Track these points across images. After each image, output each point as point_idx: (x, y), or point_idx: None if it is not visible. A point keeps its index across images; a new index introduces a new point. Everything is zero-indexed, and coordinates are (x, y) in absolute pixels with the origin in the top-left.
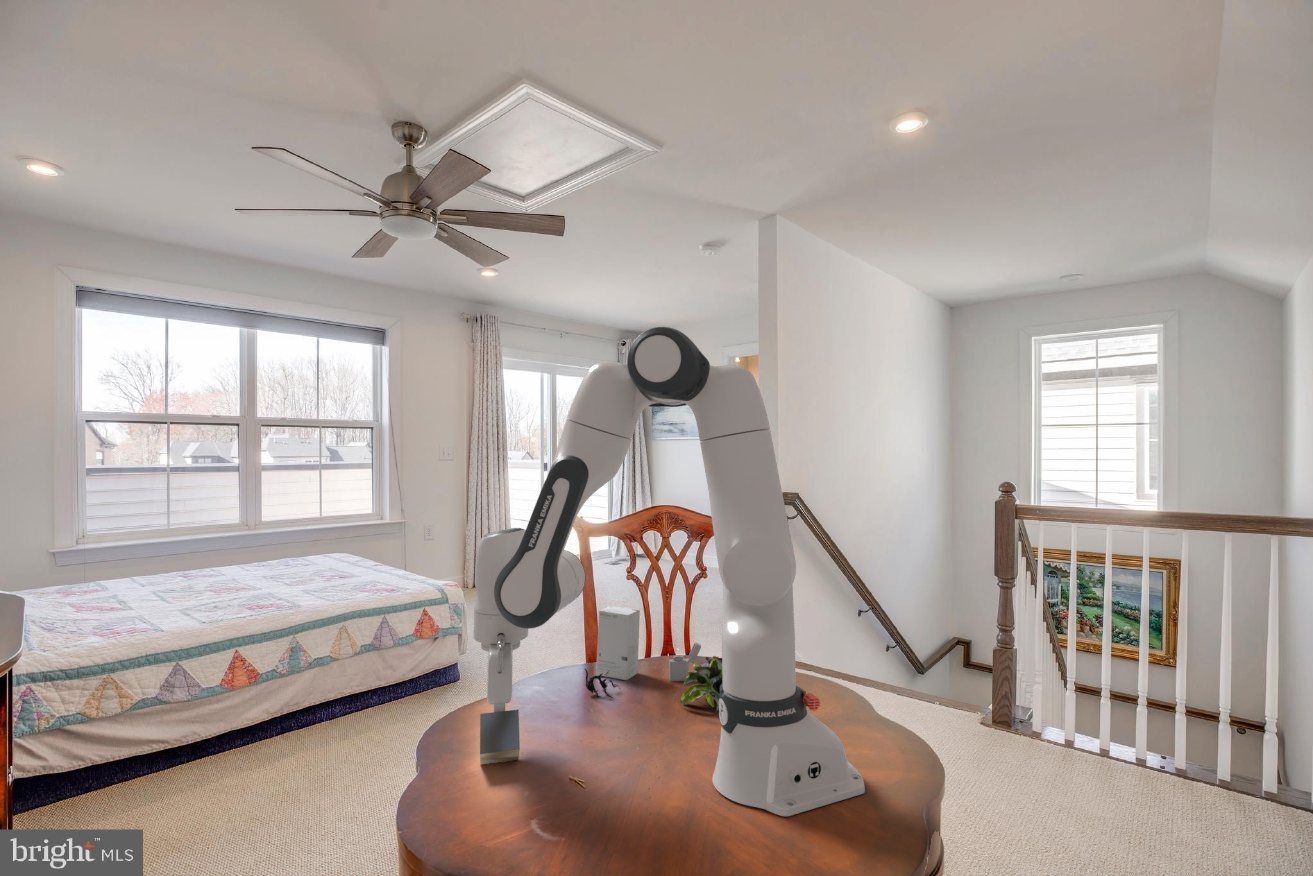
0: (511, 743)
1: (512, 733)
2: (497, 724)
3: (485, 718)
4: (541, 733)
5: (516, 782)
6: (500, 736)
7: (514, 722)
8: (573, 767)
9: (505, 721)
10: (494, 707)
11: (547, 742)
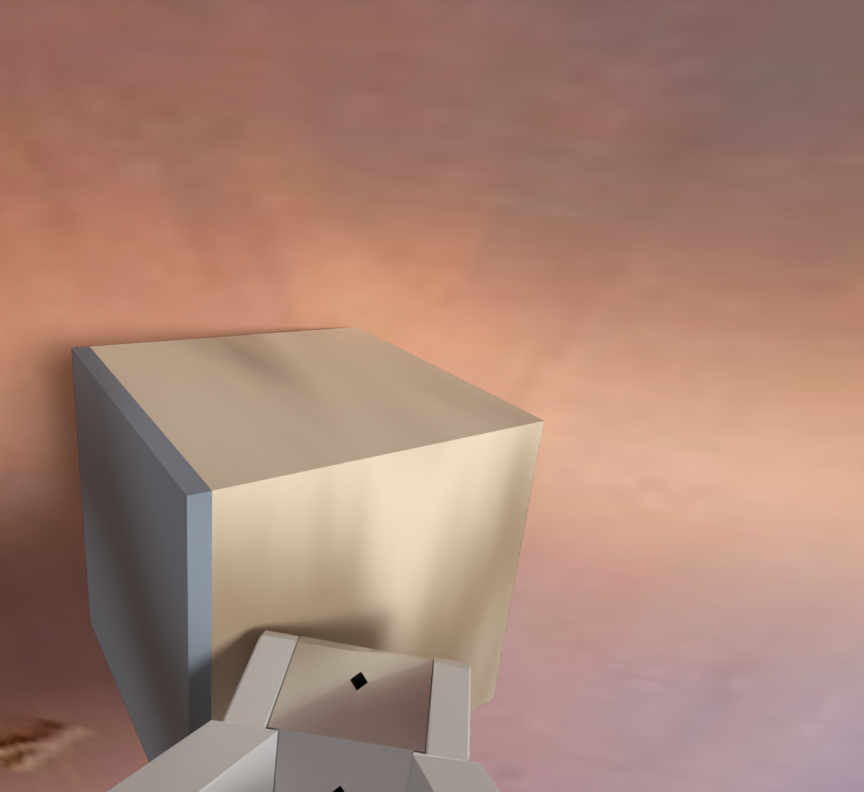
0: (96, 597)
1: (116, 652)
2: (140, 595)
3: (165, 523)
4: (652, 725)
5: (69, 494)
6: (110, 556)
7: (146, 730)
8: None
9: (154, 674)
10: (239, 684)
11: (510, 726)
